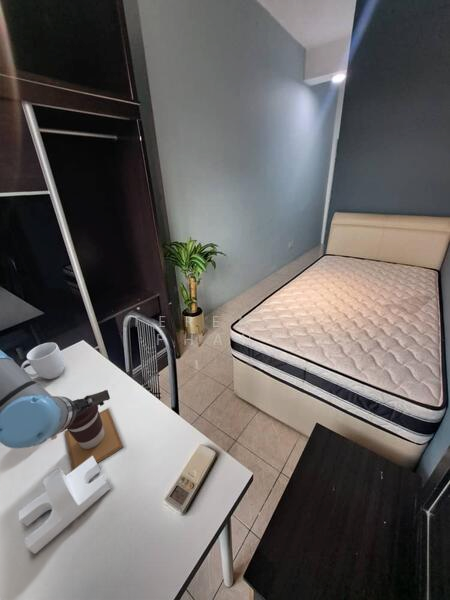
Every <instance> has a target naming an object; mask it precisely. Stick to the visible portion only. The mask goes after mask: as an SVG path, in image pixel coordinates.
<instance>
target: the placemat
mask: <svg viewBox="0 0 450 600" xmlns="http://www.w3.org/2000/svg"><path fill="white" fill-rule="evenodd" d="M99 414H100V417H101V420H102V424H103V425H102V426H103V429H104V437H103V439H102V441H101V442H100V443H99V444H98V445H96V446H95V447H93V448H90V449H84V448H82V447H81V446H80V444H79V443H78V442H77V441H76V440H75V439H74V438H73V436H72V435H71V434H70V432H69V431H68V429H66V430H64V433H65V434H64V435H65V439H66V444H67V449H68V454H69V459H70V464H71V470H72V471H73V470H74V469H75V468H77V467H78V466H79V465H81V464H82V463H83V462H85V461H86V460H87V459H89V458H90V457H91V456H93V457H94V459H95V461H96V463H97V464H99V463H100V462H102V461H103V460H105V459H106V458H107V459H108V457H110V456H112V455H113V454H115V453H116V452H118V451H120V450H121V449H123V448H124V445H123V443H122V440H121V438H120V436H119V432H118V430H117V428H116V424H115V423H114V420H113V417H112V415H111V413H110V410H109V408H106V409H103V410H102V411H100V412H99Z"/></svg>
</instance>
